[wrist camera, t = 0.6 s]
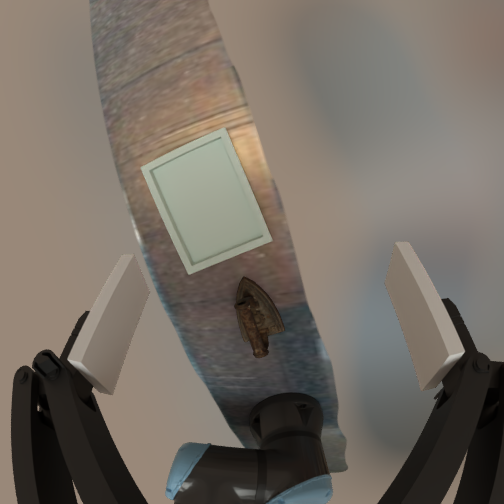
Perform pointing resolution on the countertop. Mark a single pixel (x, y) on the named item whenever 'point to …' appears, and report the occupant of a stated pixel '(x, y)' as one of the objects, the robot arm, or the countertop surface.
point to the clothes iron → (256, 316)
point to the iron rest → (206, 201)
